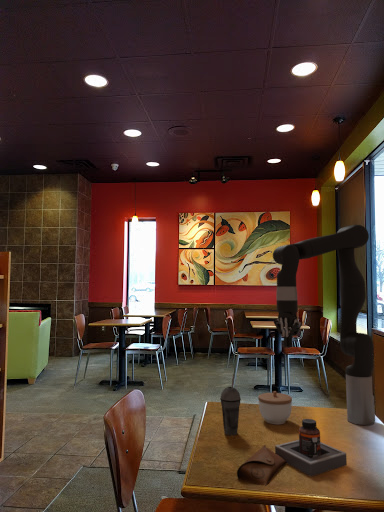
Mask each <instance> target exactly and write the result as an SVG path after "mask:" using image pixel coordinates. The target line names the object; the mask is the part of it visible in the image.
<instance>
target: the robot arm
mask: <svg viewBox="0 0 384 512" xmlns="http://www.w3.org/2000/svg"><path fill="white" fill-rule="evenodd" d="M369 238H370V234H369V231H368V229H367V227H365V226H364V225H361V224H352V225H346V226H344V227H340V228H339V229H338V231H337V232H336V233H332V234H327V235H322V236H316V237H312V238H307V239H304V240H301V241H297V242H295V243H289V244H284V245H280V246H278V247H276V248H275V249H274V250H273V252H272V258H273V261H274V262H275V263H276V264H278V265H281V268H280V270H279V271H277V273H276V293H275V294H276V295H275V296H276V312H277V313H278V314H277V319H276V320H273V324H274V325H275V328H276V330H277V332H278V334H279V335H282V337H283V346H284V347H285V348H287V349H288V348H292V347H293V337H294V336H297V334H298V333H299V331H300V329H301V328H302V326H303V322H302V321H299V320H298V316H297V313H298V312H299V309H298V307H299V305H298V303H299V302H298V289H297V273H298V269H299V263H300V260H307V259H310V258H315V257H318V256H321V255H324V254H328V253H330V252H331V253H332V252H334V251H337V257H338V268H339V286H340V287H339V290H340V291H339V293H340V333H339V347H340V350H341V351H342V353H343V354H344V355H347V356H350V357H353V359H354V360H353V363H352V364H350V365H348V366H347V365H346V367H345V390H346V391H345V393H346V414H347V415H346V417H347V418H346V419H347V422H349V423H351V424H356V425H360V426H372V425H374V423H375V422H376V410H375V409H376V408H375V407H376V406H375V396H374V395H373V377H372V376H373V375H372V373H373V370H374V352H375V351H374V342H373V339H372V337H371V335H369V334H367V333H363V332H357V329H358V328H357V322H358V321H357V320H358V317H359V314H360V312H361V311H362V309H363V306H364V304H365V302H366V297H367V293H366V281H365V278H364V276H363V274H362V272H361V271H360V269H359V267H358V265H357V263H356V258H355V249H358V248H361V247H364V246H365V245H366V244H367V243H368V241H369Z"/></svg>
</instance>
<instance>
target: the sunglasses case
mask: <svg viewBox="0 0 384 512" xmlns="http://www.w3.org/2000/svg"><path fill="white" fill-rule="evenodd" d="M286 464H287V463H286V460H285V459H283V458H281V457H280V456H279V455H277V454H275V452H274V451H273V450H271V449H270V448H268V447H267V446H266V444H264V445H263V446H262V447H261V448H260V449H259V450H258V451H256V452H255V453H253V454H252V455H251V456H250V457H248V458H247V460H245V462H243V463H242V464H241V465H240V466H239V467H238V469H237V470H236V477H237V479H238V480H240V481H244V482H249V483H252V484H257V485H260V484H261V485H260V486H264V485H265V486H268V483H269V482H270V481H269V480H271V479H272V477H274V476H275V475H276V474H277V472H278V471H280V470H281V468H283V466H285V465H286Z"/></svg>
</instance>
